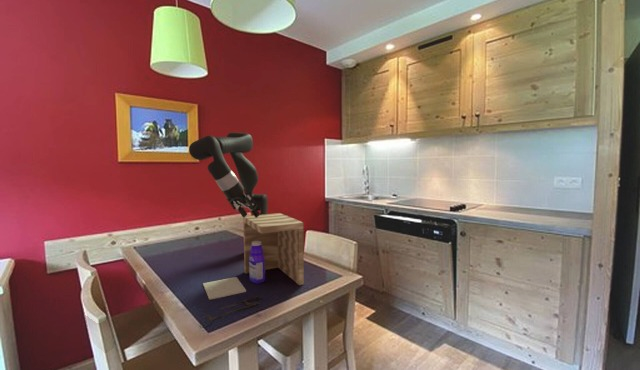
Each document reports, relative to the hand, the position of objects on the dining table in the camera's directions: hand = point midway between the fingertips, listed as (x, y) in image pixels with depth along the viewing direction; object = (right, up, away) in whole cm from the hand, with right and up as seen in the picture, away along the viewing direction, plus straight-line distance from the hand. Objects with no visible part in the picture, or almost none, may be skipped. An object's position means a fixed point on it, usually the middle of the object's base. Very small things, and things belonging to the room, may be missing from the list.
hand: (251, 216), depth 120 cm
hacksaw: (-2, -32, -18) cm, 37 cm away
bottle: (+1, -29, +7) cm, 30 cm away
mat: (-11, -30, 0) cm, 32 cm away
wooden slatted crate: (+7, -29, +11) cm, 31 cm away
